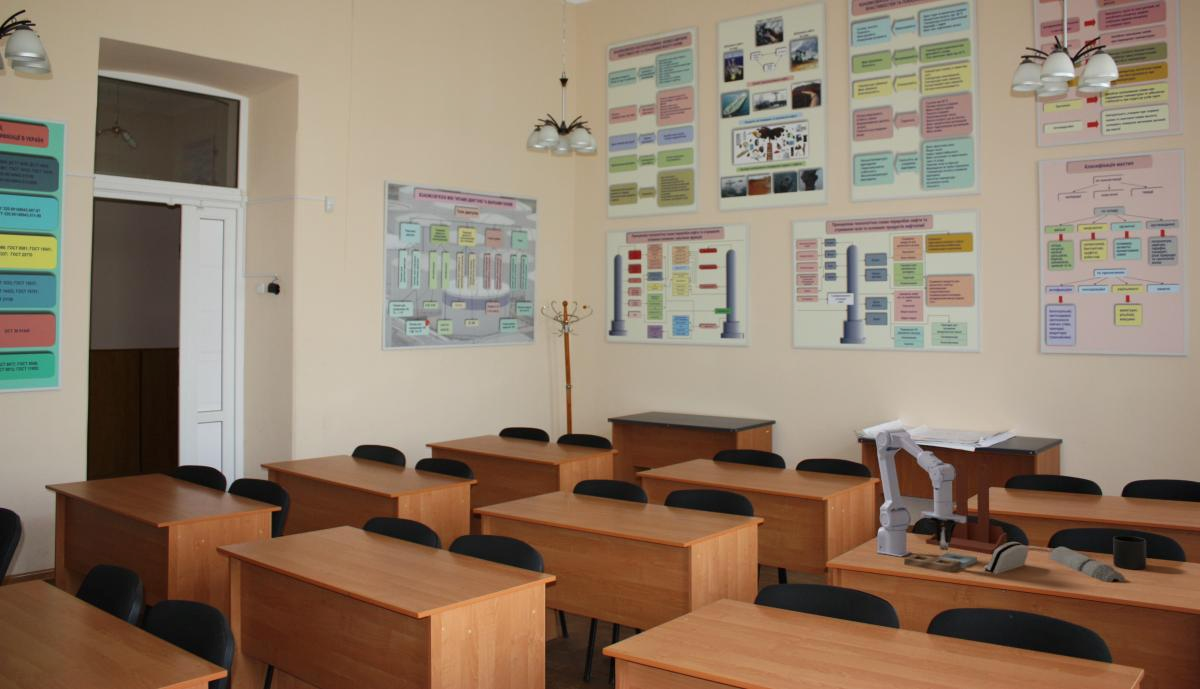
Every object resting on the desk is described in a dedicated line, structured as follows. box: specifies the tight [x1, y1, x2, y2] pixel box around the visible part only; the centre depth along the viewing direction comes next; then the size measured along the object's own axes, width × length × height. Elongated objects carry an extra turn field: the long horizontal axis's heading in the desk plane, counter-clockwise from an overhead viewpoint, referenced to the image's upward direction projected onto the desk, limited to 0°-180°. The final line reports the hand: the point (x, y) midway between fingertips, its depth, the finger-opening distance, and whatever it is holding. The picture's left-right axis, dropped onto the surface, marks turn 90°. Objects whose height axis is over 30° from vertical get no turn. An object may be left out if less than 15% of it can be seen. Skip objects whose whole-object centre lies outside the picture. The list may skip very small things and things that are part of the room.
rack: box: [903, 553, 962, 573], centre depth 315 cm, size 16×8×2 cm, turn 46°
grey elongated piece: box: [1049, 546, 1126, 583], centre depth 307 cm, size 9×4×30 cm
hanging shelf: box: [925, 460, 1008, 555], centre depth 341 cm, size 24×13×30 cm, turn 43°
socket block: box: [937, 552, 978, 568], centre depth 319 cm, size 10×10×2 cm
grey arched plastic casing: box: [982, 541, 1029, 575], centre depth 309 cm, size 17×5×10 cm, turn 126°
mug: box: [1112, 535, 1147, 571], centre depth 310 cm, size 9×12×9 cm
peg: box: [939, 528, 949, 551], centre depth 312 cm, size 3×3×7 cm
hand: (943, 541), depth 312 cm, fingers closed on peg, 3 cm apart
